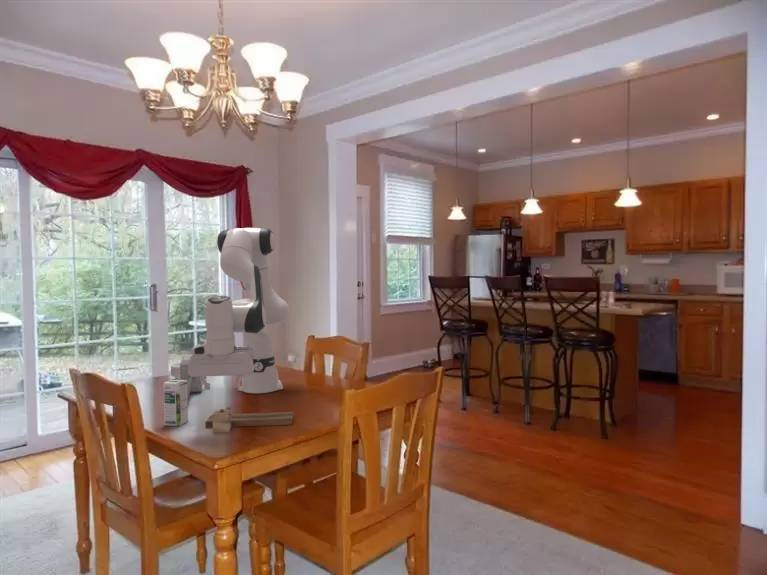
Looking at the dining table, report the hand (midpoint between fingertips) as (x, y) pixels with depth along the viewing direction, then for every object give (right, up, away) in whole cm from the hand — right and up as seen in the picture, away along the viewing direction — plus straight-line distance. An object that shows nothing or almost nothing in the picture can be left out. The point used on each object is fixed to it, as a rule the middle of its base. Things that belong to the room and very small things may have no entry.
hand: (222, 388), depth 169 cm
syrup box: (-18, -13, +7) cm, 23 cm away
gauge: (0, -13, +4) cm, 14 cm away
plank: (+7, -13, +8) cm, 17 cm away
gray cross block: (-38, -10, +73) cm, 83 cm away
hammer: (-26, -12, +40) cm, 49 cm away
